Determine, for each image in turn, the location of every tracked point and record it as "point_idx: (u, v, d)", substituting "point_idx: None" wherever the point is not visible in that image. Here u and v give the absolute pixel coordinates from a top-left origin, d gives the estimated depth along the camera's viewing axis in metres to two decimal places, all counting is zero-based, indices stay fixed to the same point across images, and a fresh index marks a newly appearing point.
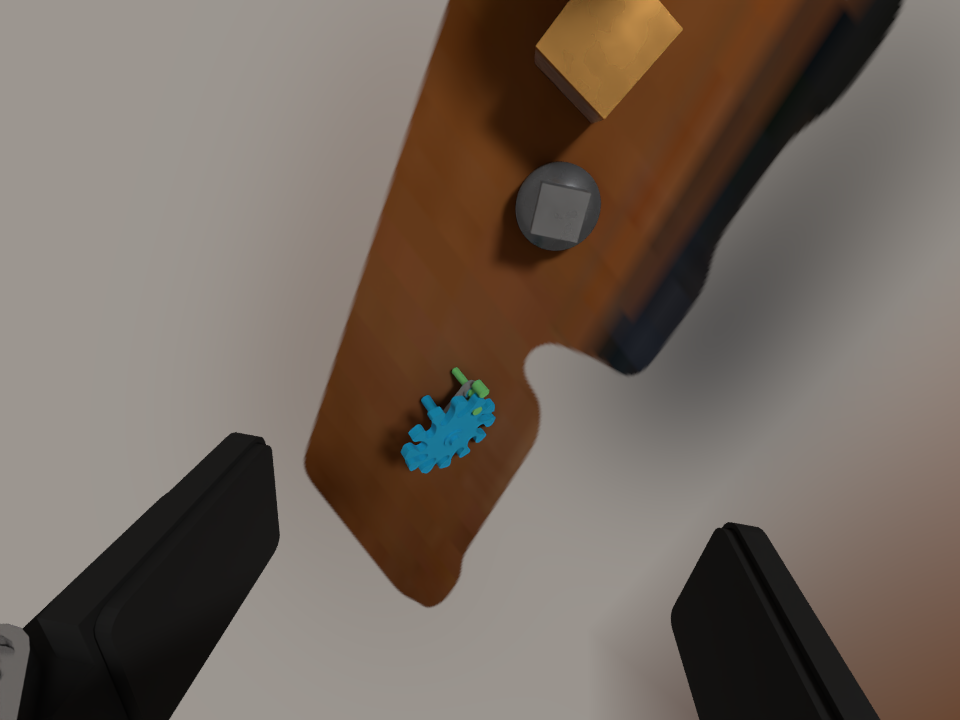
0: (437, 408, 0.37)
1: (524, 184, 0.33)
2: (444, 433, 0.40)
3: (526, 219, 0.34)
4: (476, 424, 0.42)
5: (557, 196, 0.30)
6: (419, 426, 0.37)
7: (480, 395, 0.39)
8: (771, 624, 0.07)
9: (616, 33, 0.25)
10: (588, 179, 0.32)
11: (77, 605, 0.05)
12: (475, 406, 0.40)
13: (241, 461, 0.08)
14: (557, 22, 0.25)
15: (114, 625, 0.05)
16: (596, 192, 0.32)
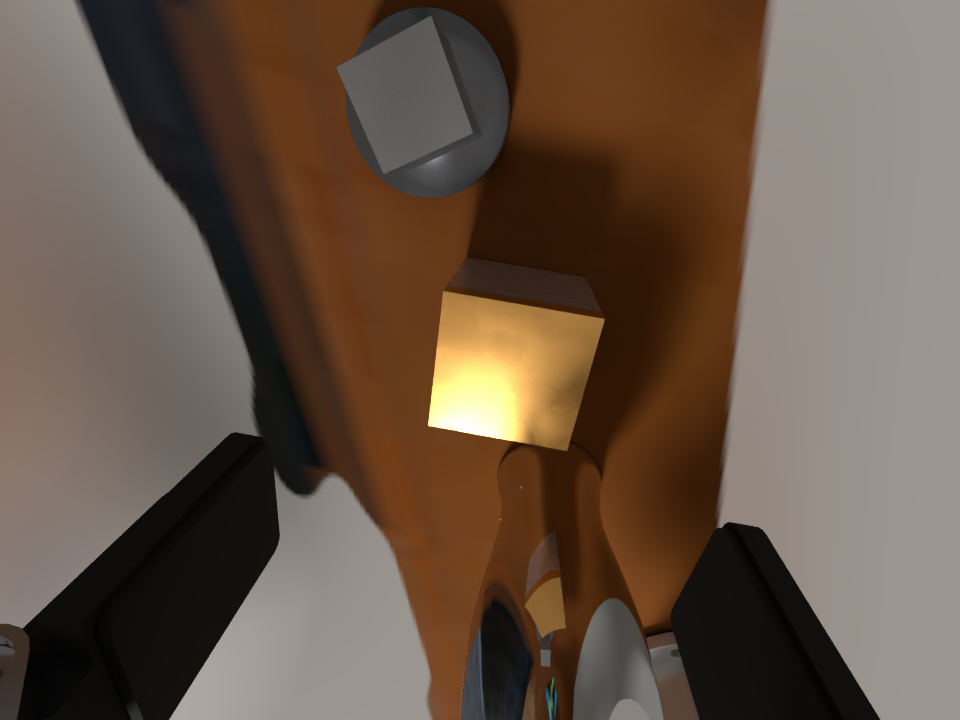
0: None
1: (505, 109, 0.17)
2: None
3: (463, 47, 0.16)
4: None
5: (432, 127, 0.14)
6: None
7: None
8: (771, 624, 0.07)
9: (501, 385, 0.17)
10: (413, 188, 0.18)
11: (77, 605, 0.05)
12: None
13: (241, 461, 0.08)
14: (588, 358, 0.16)
15: (114, 625, 0.05)
16: (388, 178, 0.18)
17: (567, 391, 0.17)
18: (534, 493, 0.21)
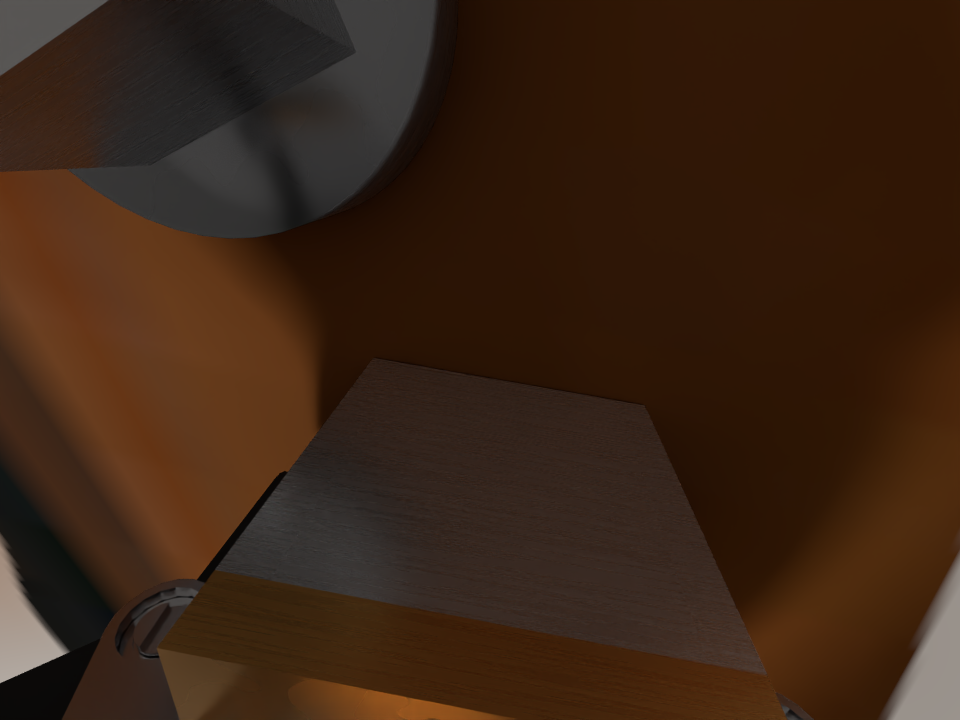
0: None
1: None
2: None
3: None
4: None
5: None
6: None
7: None
8: None
9: None
10: (182, 213, 0.06)
11: None
12: None
13: None
14: None
15: None
16: (106, 184, 0.06)
17: None
18: None
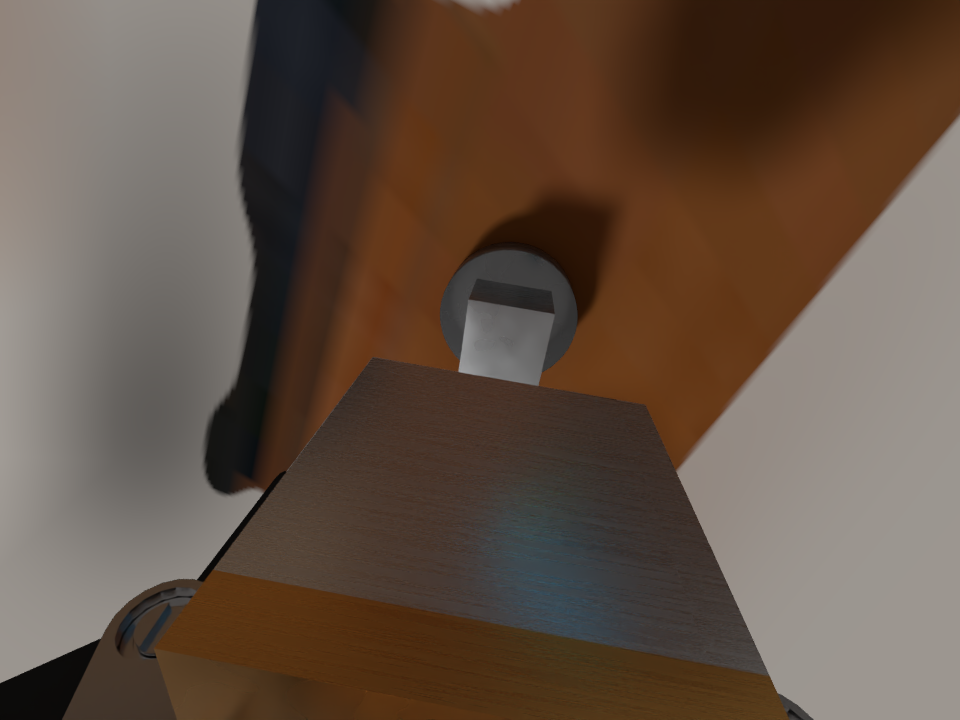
0: None
1: (562, 352, 0.21)
2: None
3: (558, 301, 0.20)
4: None
5: (511, 370, 0.18)
6: None
7: None
8: None
9: None
10: None
11: None
12: None
13: None
14: None
15: None
16: (450, 342, 0.21)
17: None
18: None
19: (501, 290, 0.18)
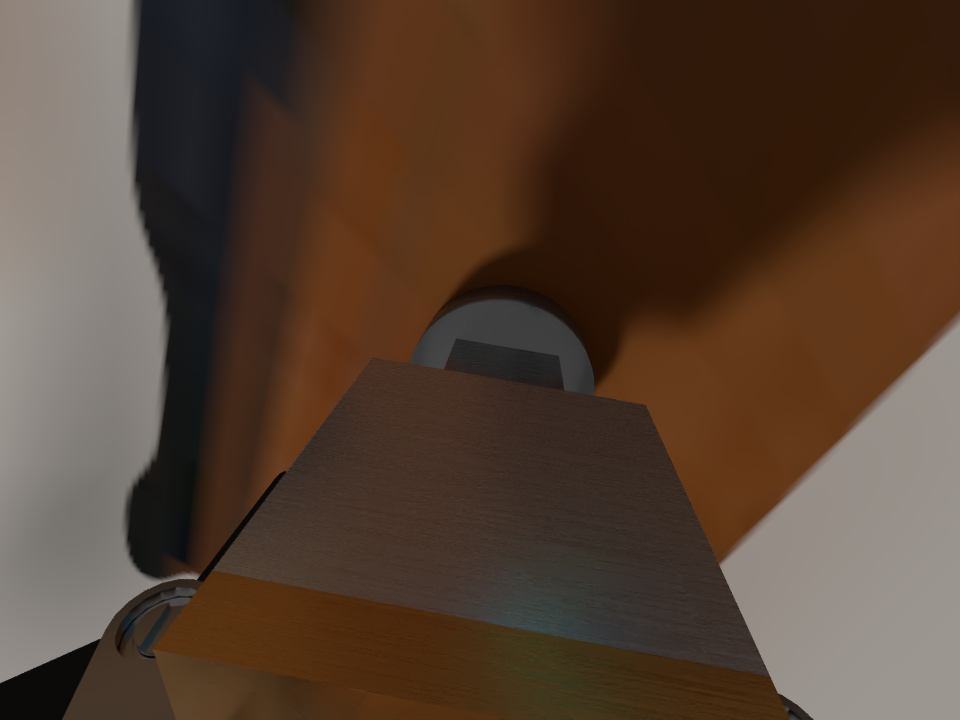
0: None
1: None
2: None
3: (568, 369, 0.14)
4: None
5: None
6: None
7: None
8: None
9: None
10: None
11: None
12: None
13: None
14: None
15: None
16: None
17: None
18: None
19: (489, 359, 0.13)
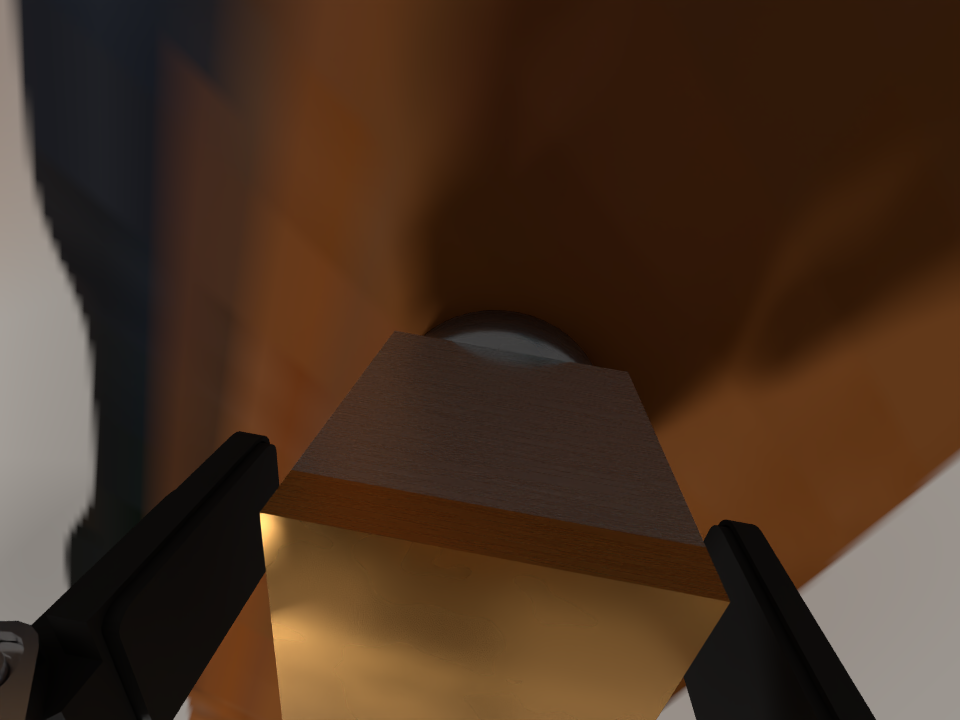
0: None
1: None
2: None
3: None
4: None
5: None
6: None
7: None
8: (765, 620, 0.07)
9: (443, 700, 0.07)
10: None
11: (85, 602, 0.05)
12: None
13: (246, 460, 0.08)
14: (669, 674, 0.06)
15: (122, 622, 0.06)
16: None
17: None
18: None
19: None
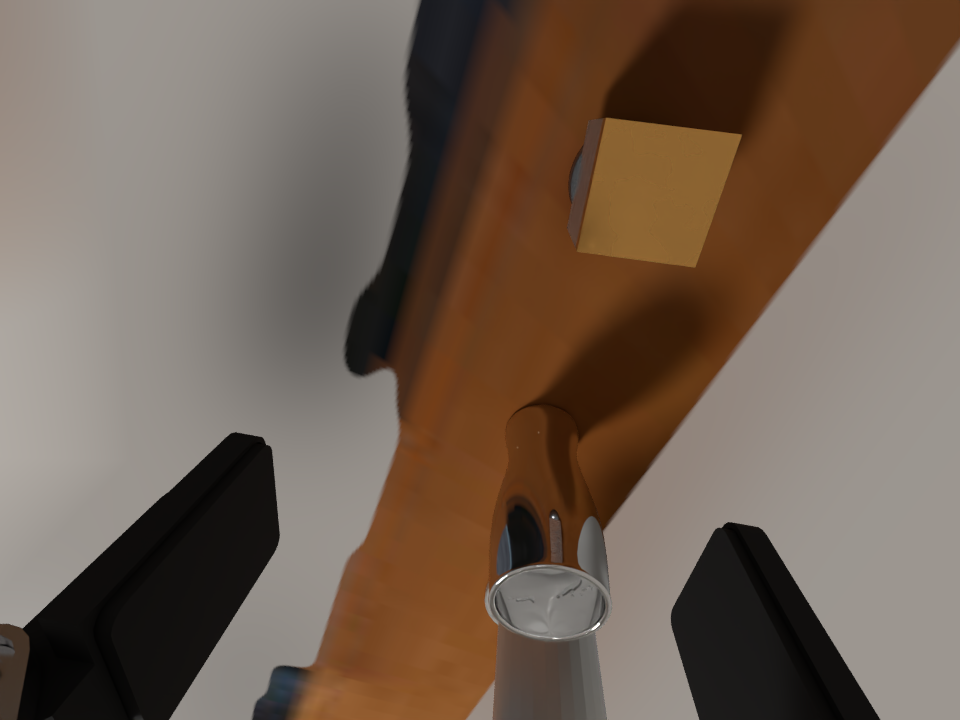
0: None
1: None
2: None
3: None
4: None
5: None
6: None
7: None
8: (771, 624, 0.07)
9: (645, 206, 0.20)
10: None
11: (77, 605, 0.05)
12: None
13: (241, 461, 0.08)
14: (723, 174, 0.19)
15: (114, 625, 0.05)
16: None
17: (702, 208, 0.20)
18: (549, 439, 0.32)
19: None
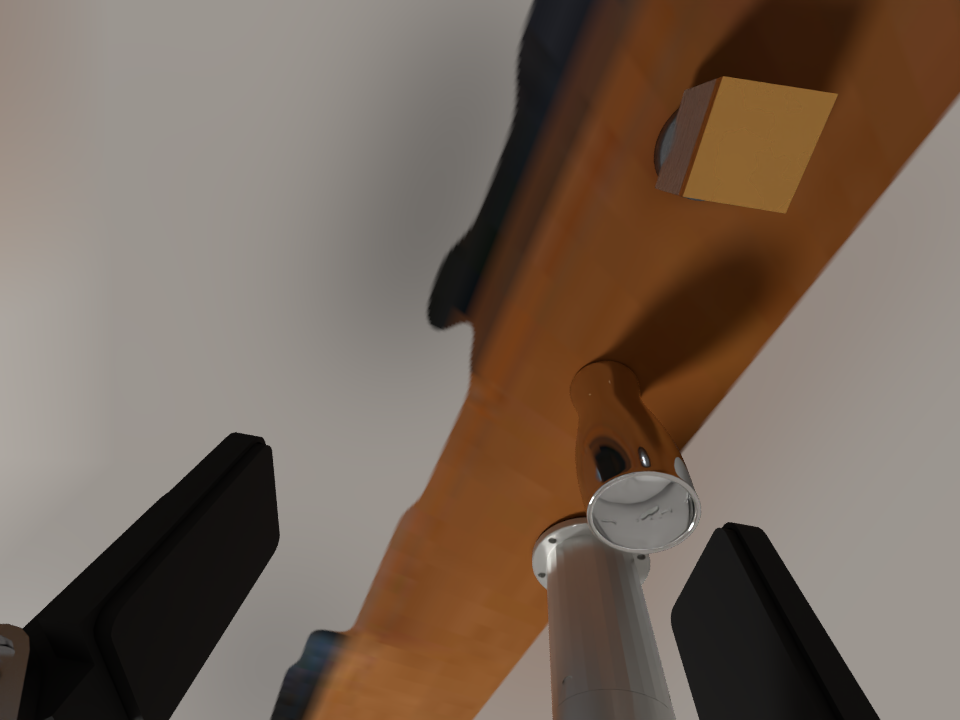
0: None
1: None
2: None
3: None
4: None
5: None
6: None
7: None
8: (770, 624, 0.07)
9: (748, 156, 0.23)
10: None
11: (77, 605, 0.05)
12: None
13: (241, 461, 0.08)
14: (818, 128, 0.23)
15: (114, 625, 0.05)
16: None
17: (797, 159, 0.23)
18: (620, 387, 0.34)
19: None
